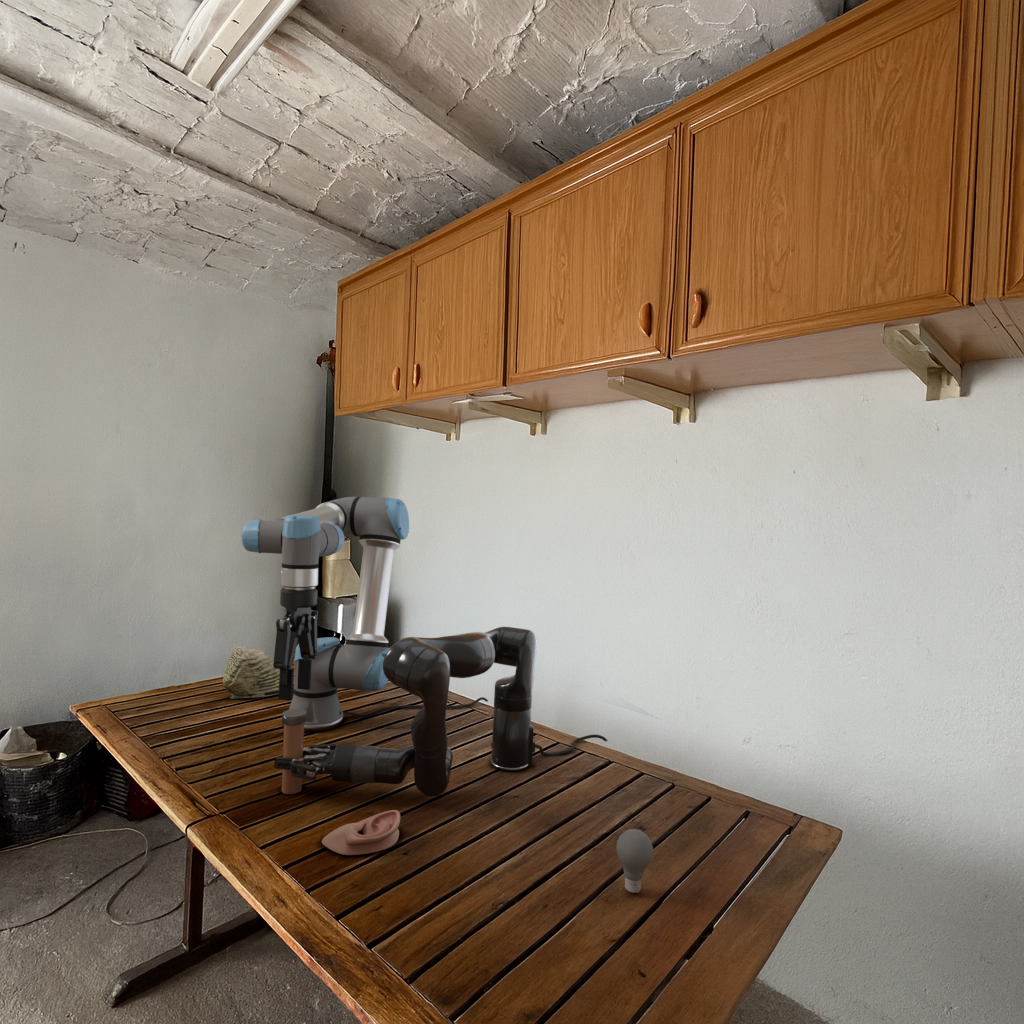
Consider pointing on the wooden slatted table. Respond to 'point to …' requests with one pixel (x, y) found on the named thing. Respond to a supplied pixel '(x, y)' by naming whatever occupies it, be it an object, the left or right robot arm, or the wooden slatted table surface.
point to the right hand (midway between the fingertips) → (280, 758)
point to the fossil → (251, 674)
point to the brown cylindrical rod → (292, 756)
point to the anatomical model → (365, 835)
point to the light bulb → (634, 857)
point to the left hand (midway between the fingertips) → (295, 693)
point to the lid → (294, 717)
